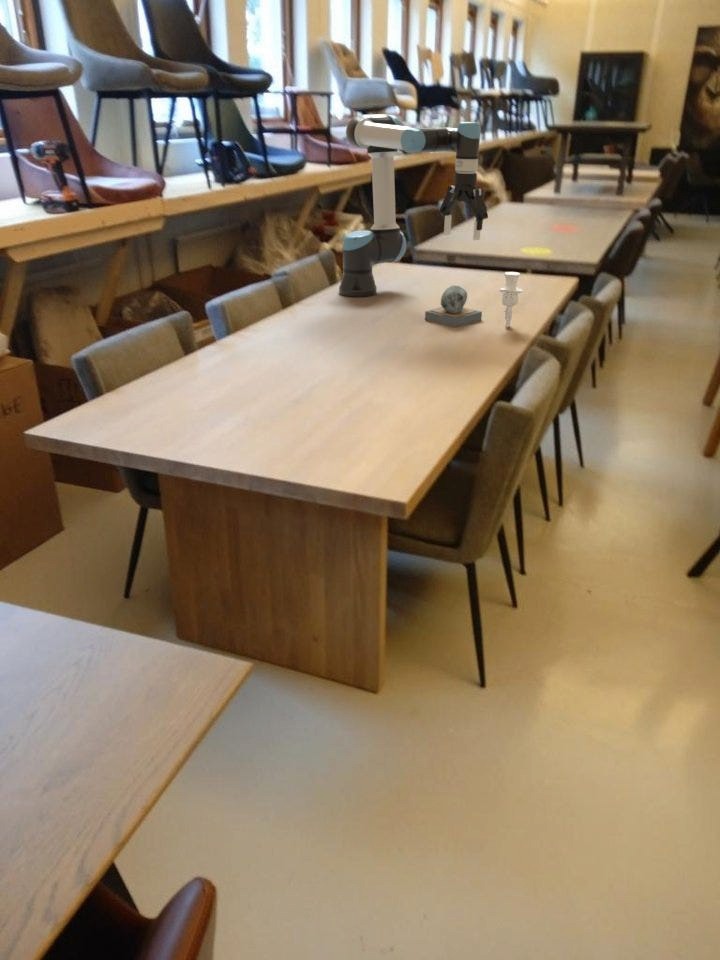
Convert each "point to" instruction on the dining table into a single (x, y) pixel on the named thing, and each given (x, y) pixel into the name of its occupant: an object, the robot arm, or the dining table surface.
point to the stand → (453, 316)
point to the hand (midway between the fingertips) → (461, 237)
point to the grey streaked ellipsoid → (454, 299)
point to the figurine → (510, 294)
